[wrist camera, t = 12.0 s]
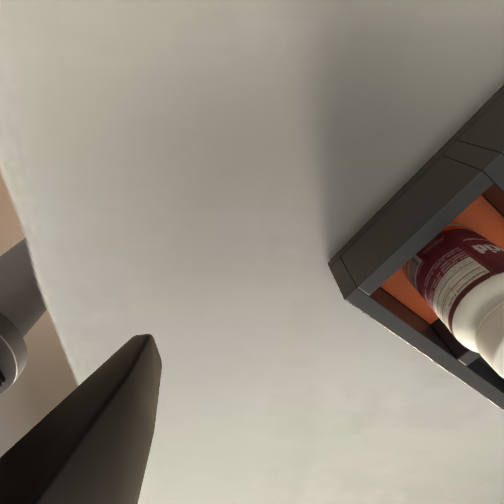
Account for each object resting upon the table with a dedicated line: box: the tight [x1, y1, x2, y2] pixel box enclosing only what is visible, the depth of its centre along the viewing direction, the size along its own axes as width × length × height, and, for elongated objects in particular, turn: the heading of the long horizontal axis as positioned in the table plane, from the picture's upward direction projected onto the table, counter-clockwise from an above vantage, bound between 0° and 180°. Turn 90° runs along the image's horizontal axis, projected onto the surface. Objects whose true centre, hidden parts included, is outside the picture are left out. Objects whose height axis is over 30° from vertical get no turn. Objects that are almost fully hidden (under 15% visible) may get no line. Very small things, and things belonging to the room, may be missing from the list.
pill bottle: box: [403, 223, 504, 378], centre depth 17 cm, size 5×5×8 cm
